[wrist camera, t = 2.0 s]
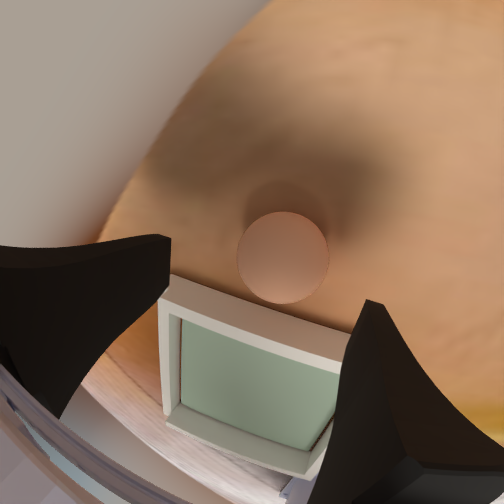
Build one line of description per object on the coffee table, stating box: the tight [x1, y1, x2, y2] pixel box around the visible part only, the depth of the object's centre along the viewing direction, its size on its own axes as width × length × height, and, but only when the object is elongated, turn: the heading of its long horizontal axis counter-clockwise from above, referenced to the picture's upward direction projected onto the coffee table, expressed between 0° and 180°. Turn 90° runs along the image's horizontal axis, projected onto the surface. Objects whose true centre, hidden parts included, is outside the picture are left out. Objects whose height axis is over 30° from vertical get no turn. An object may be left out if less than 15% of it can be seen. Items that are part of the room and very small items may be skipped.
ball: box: [237, 211, 329, 304], centre depth 13 cm, size 4×4×4 cm
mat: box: [181, 319, 340, 451], centre depth 20 cm, size 11×11×1 cm
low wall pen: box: [158, 274, 351, 481], centre depth 19 cm, size 14×14×2 cm
